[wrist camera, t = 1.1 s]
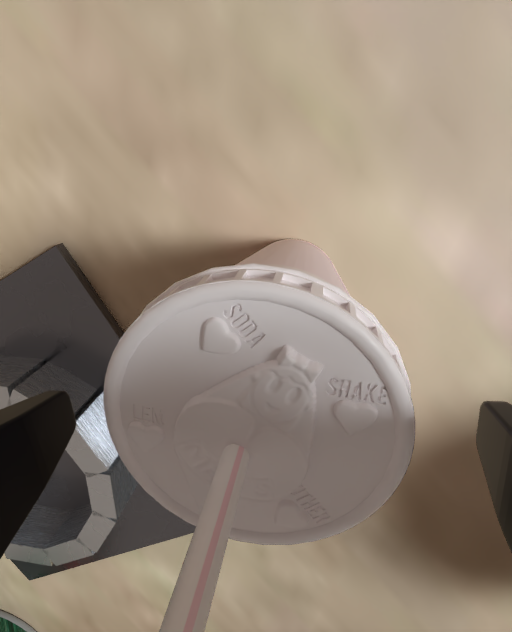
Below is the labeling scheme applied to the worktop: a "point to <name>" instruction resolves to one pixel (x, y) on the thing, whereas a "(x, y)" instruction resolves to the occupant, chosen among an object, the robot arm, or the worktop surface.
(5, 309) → the duct collar
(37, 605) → the worktop surface
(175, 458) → the smoothie
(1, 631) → the canned tomato
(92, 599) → the worktop surface
